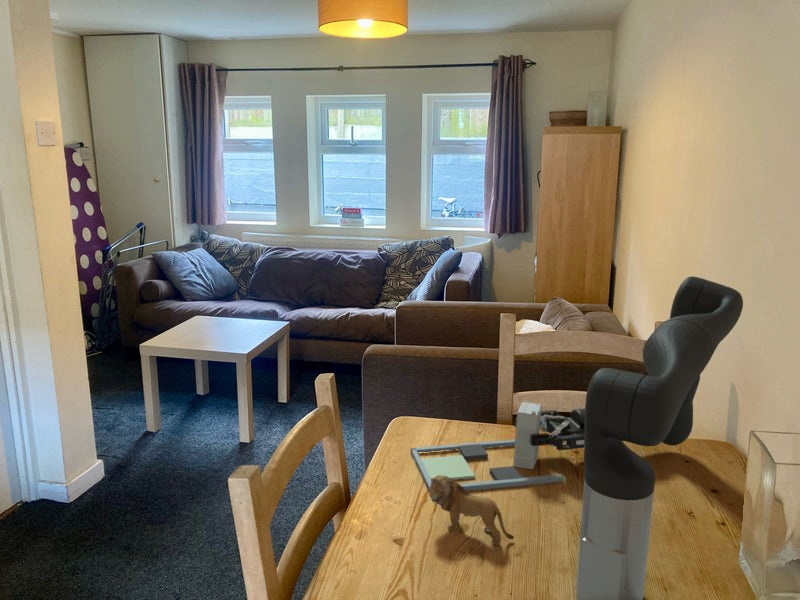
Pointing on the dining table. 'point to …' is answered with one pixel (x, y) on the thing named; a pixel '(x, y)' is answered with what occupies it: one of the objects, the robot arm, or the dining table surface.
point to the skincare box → (527, 435)
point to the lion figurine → (465, 505)
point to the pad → (448, 467)
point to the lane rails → (486, 483)
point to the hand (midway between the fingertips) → (522, 431)
